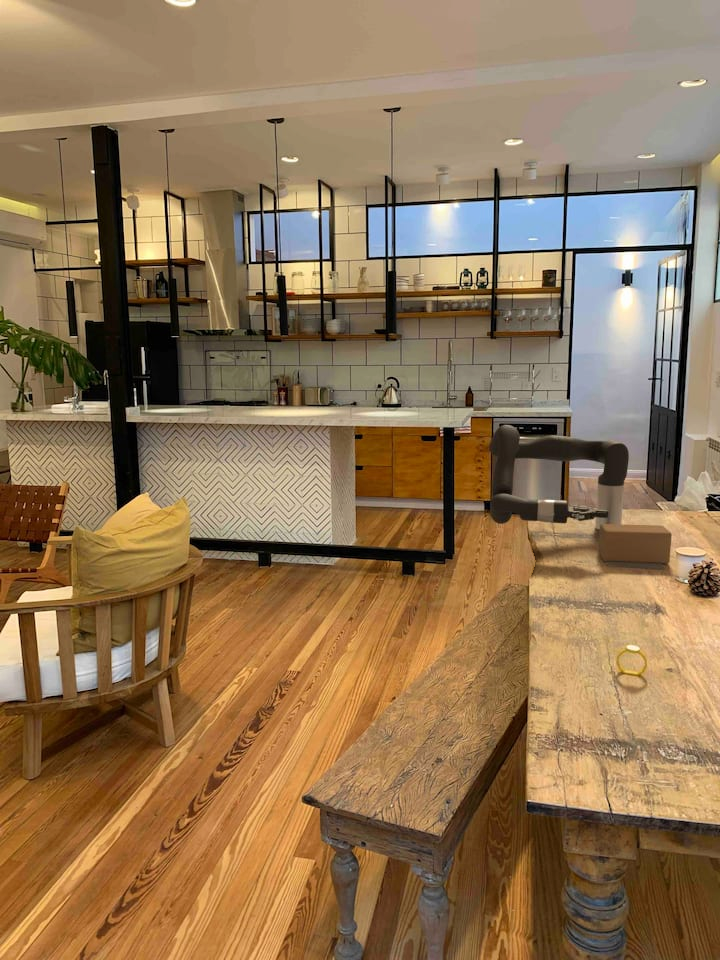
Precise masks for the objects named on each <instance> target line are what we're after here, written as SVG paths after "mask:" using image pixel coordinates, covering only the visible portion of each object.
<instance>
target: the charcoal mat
mask: <svg viewBox="0 0 720 960" xmlns="http://www.w3.org/2000/svg"><path fill="white" fill-rule="evenodd" d="M605 563H606V566H607V567H616V568H617V567H618V568H633V569H646V568H648V569H647V570H660V569H663V570H662V571H665V570H666V568H665V566H664V563H644V562H616V561H605Z"/></svg>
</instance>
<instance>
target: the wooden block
mask: <svg viewBox="0 0 720 960" xmlns="http://www.w3.org/2000/svg"><path fill="white" fill-rule="evenodd" d="M598 538H599V539H598V554H599V555H600V556H601V558H602V560H603V561H605V562H606V561H616V562H644V563H662V564H670V563H671V562H670V561H671V560H670V558H671V550H672V549H671V548H672V533H671V531H669V530H668V529H667V528H666V526H664V525H653V524H649V525H648V524H622V523H621V524H601V525H600V530H599V537H598Z"/></svg>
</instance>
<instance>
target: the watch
mask: <svg viewBox="0 0 720 960" xmlns="http://www.w3.org/2000/svg"><path fill="white" fill-rule="evenodd" d="M627 652H628V653H630V654H638V655H640V656H641V657H642V658H643V661H644V665H643V667H642V668H641V669H640V670H638V671H633V670H626V669H625V668H624V667H622V666H621V663H620V661H619V659H620V657H621V656H622V654H624V653H627ZM616 666H617V668H618V670H619V672H621V673H622V674H626V675H632V676H636V677H638V676H641V675H642V674H644V672H645V671H646V669H647V667H648V659H647V657H646V655H645V653H644V652H643V651H642V650H641V649H640V647H639V646H637V645H633V644H629V645H628V644H627V645H626V646H625V648H622V649H621V650H620V651H619V652H618V653H617V656H616Z"/></svg>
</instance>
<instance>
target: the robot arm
mask: <svg viewBox="0 0 720 960" xmlns="http://www.w3.org/2000/svg"><path fill="white" fill-rule="evenodd" d="M488 449H489V452H490V454H492V455H493V456H495V457H496V462H495V466H494V469H493V474H492V480H491V481H492V483H491V494H492V495H491V496H492V497H491V499H490V502H489V505H490V517H491V519H492V520H493V522H495V523H496V524H500V525H504V524H506V523H508V522H510V520H511V518H512V515H513V513H514V514H517V515H518V516H519V518H520V520H522V521H526V522H527V521H528V522H540V523H548V524H549V523H550V524H567V523H568V519H573V520H575V521H579V522H582V521H590V520H595V523H594V524H595V525H594V527H595V529H596V530H599V531H600V525H601V524H622V521H623V520H622V519H623V507H624V506H623V505H624V490H625V489H624V487H625V480H626V478H627V475H628V469H629V459H630V456H629V455H630V454H629V449H628V447H627V445H626V444H624V443H622V442H619V441H616V440H612V439H607V440H605V439H602V440H586V439H580V438H578V437H577V438H576V437H572V436H567V435H566V436H564V435H555V434H554V435H551V434H550V435H546V436H545V435H544V436H541V437H538V438H535V439H532V440H528V441H521V436H520V433H519V431H518V429H517V428H516V427H514V426H513V425H510V424H503V425H500V426H499V427H498V428H497V429H496V431H495V432H494V434H493V436H492V437H491V440H490V442H489V445H488ZM517 459H533V460H534V459H535V460H546V461H556V462H575V461H581V460H582V461H583V460H584V461H589V462H590V461H591V462H597V463H600V464H603V472H602V473H601V474H600V475H599V476H597V477H598V478H597V489H596V490H597V491H596V492H597V493H596V494H597V496H596V508H594V507H591V506H586V505H582V504H577V505H575V504H574V505H573V506H569V503H568V500H566V499H565V500H563V499H561V500H560V499H526V498H522V497H519V496H516V495H513V490H514V471H515V461H516V460H517Z"/></svg>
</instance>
